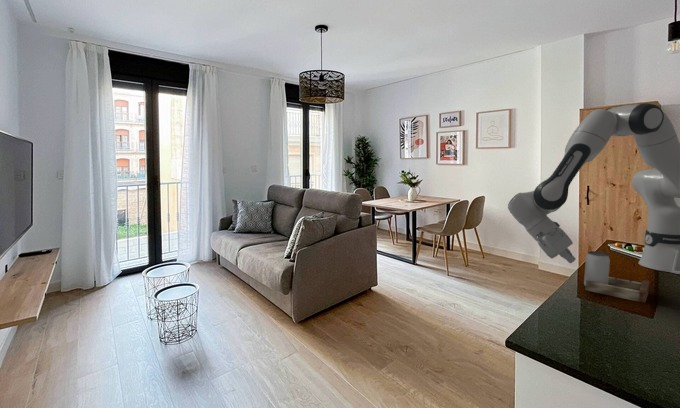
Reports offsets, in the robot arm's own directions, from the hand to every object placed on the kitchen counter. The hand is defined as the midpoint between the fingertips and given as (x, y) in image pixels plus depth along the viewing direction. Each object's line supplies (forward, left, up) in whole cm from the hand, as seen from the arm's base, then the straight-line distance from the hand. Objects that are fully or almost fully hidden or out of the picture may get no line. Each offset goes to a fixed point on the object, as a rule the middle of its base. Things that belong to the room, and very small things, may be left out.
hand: (573, 261), depth 117 cm
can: (-5, +4, -8) cm, 10 cm away
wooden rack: (-10, +7, -8) cm, 15 cm away
